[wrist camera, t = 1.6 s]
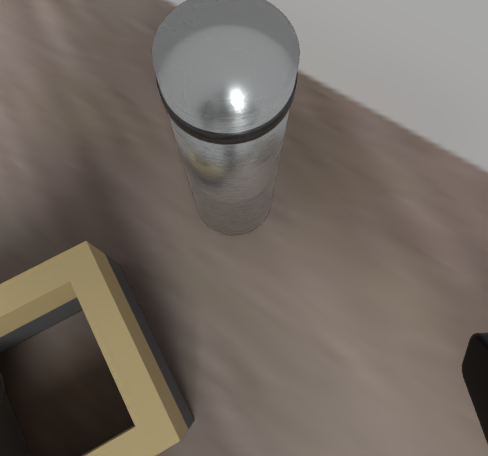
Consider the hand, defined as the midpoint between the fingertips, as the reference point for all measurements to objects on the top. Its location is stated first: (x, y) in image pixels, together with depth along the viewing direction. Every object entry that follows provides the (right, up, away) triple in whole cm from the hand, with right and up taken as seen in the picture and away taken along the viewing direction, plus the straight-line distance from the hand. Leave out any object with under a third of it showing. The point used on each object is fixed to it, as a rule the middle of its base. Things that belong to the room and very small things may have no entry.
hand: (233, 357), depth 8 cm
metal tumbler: (0, +4, +15) cm, 16 cm away
